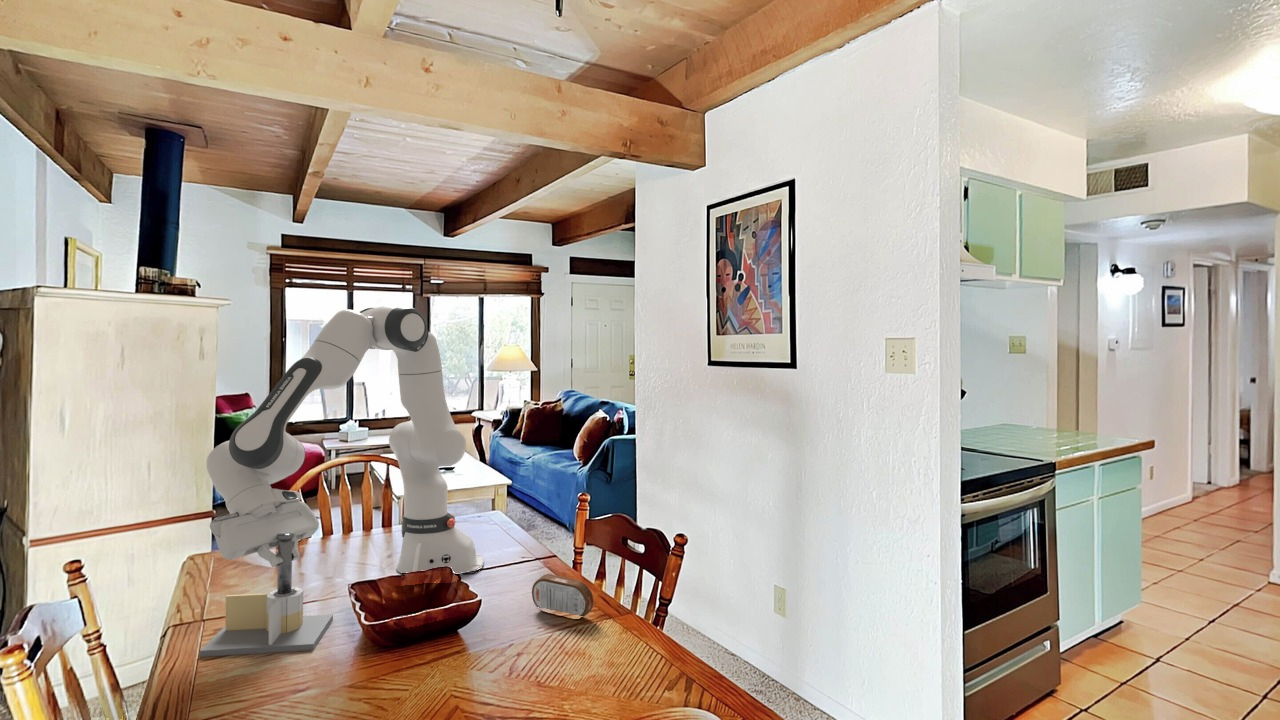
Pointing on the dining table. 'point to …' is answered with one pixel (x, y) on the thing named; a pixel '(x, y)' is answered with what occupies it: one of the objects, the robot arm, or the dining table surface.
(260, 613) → the hinge
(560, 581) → the tin
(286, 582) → the hinge pin
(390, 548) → the dining table surface
